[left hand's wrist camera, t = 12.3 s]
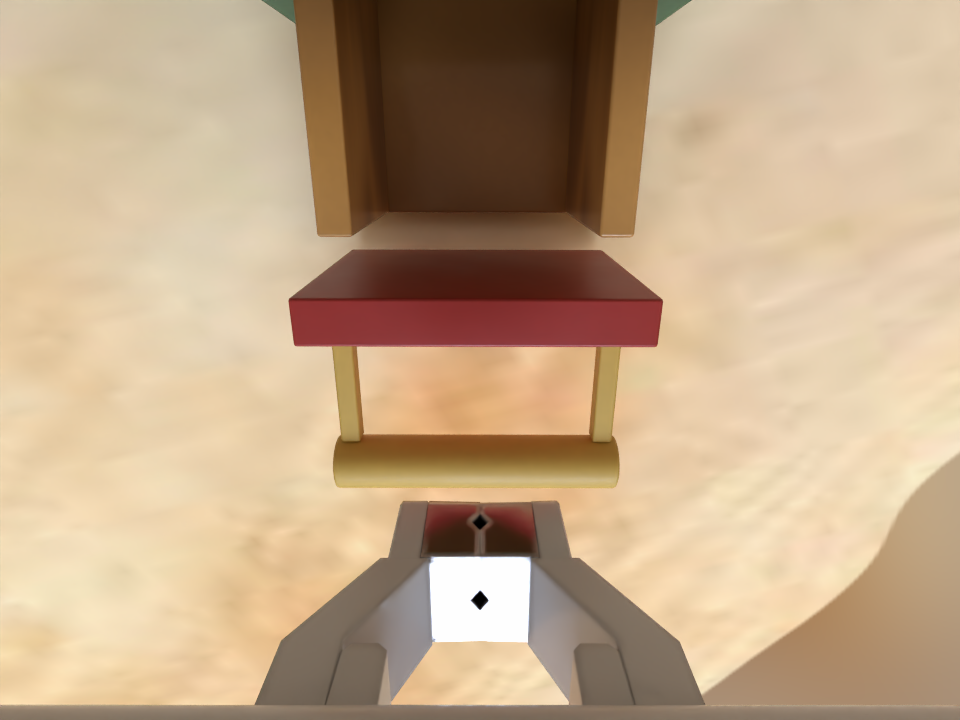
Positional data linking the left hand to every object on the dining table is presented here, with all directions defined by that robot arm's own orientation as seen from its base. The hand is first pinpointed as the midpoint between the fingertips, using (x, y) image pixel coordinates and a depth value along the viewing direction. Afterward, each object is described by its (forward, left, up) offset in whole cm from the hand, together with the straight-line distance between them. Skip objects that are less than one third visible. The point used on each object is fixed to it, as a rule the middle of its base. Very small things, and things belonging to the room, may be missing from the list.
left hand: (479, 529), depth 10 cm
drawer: (-2, +6, -10) cm, 12 cm away
